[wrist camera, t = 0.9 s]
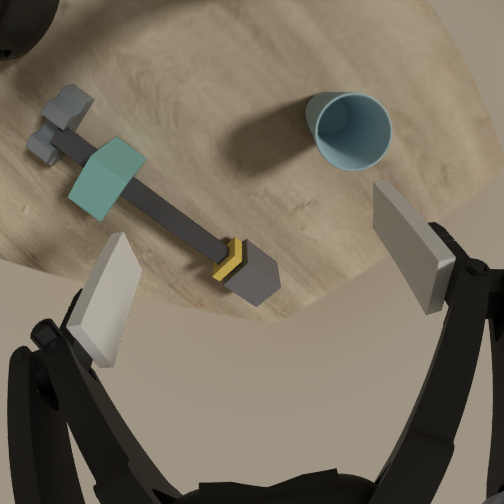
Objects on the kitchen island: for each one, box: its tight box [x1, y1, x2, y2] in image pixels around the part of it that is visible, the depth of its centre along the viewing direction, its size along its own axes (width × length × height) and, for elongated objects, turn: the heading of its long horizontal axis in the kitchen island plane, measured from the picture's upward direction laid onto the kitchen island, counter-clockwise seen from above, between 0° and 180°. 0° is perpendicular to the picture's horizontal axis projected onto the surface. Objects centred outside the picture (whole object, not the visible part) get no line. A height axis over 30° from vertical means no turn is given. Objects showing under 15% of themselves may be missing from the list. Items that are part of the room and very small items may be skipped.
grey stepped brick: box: [26, 84, 95, 166], centre depth 31 cm, size 4×10×5 cm, turn 137°
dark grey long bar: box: [51, 128, 242, 281], centre depth 38 cm, size 34×4×4 cm, turn 47°
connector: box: [223, 240, 281, 307], centre depth 45 cm, size 6×5×6 cm
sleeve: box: [68, 137, 147, 222], centre depth 34 cm, size 5×6×8 cm
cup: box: [305, 92, 392, 171], centre depth 31 cm, size 8×8×10 cm
